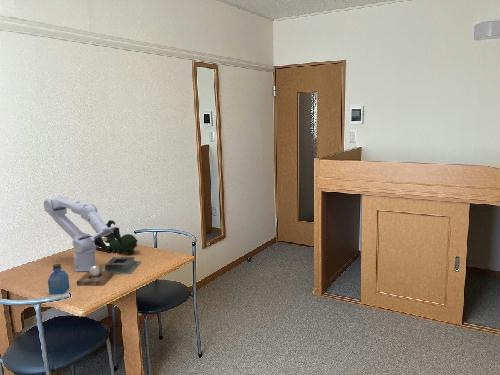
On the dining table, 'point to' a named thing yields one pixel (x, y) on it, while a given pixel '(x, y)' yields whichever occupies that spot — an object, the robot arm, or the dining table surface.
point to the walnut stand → (101, 281)
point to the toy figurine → (127, 244)
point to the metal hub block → (121, 265)
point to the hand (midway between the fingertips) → (114, 246)
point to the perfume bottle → (58, 281)
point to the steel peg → (94, 271)
